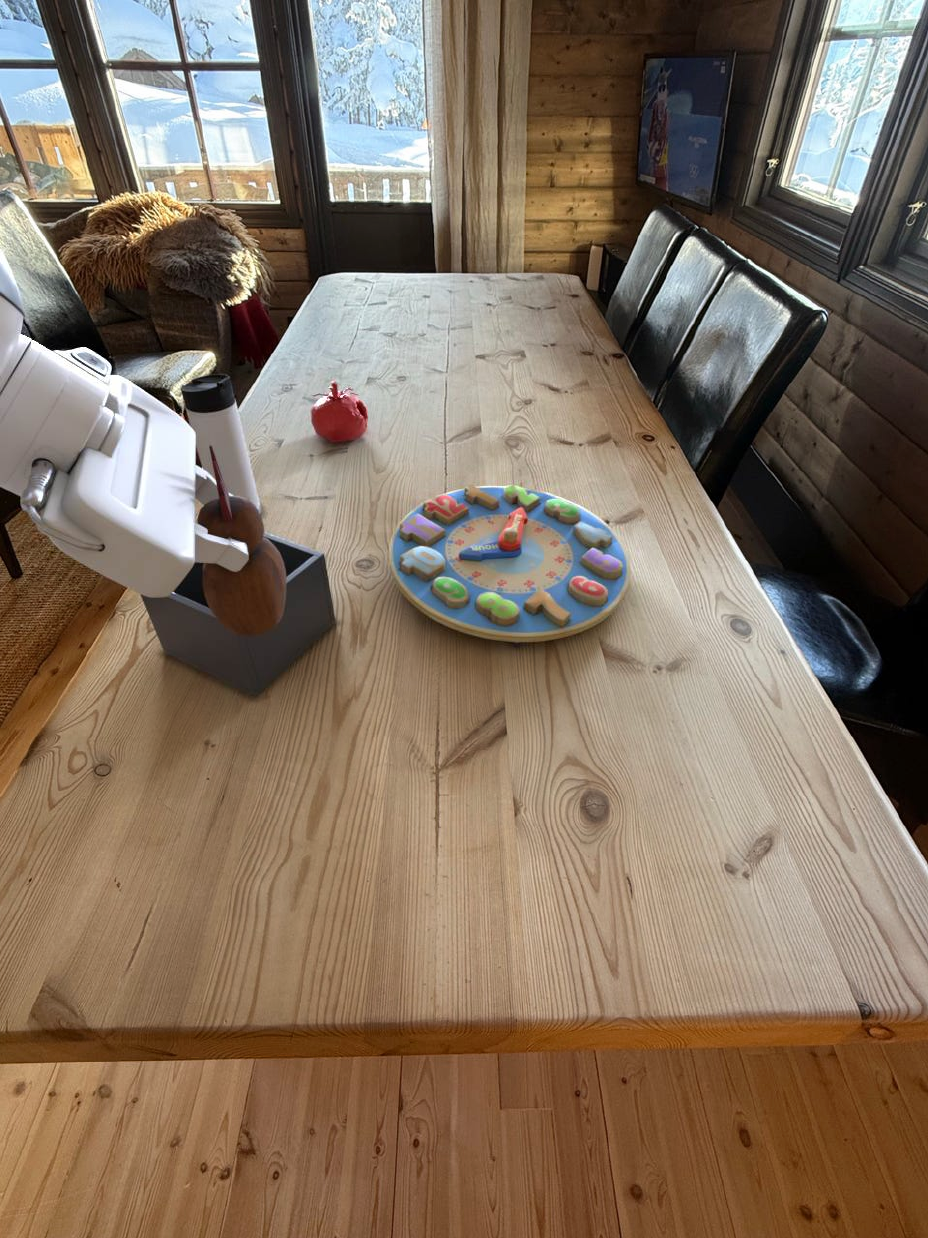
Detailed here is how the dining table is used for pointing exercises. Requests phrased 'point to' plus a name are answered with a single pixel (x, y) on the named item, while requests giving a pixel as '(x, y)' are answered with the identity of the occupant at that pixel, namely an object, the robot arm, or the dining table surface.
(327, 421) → the pomegranate
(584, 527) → the shape sorting clock
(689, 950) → the dining table surface
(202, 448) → the travel mug
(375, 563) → the dining table surface
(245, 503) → the wooden figurine
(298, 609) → the tote
